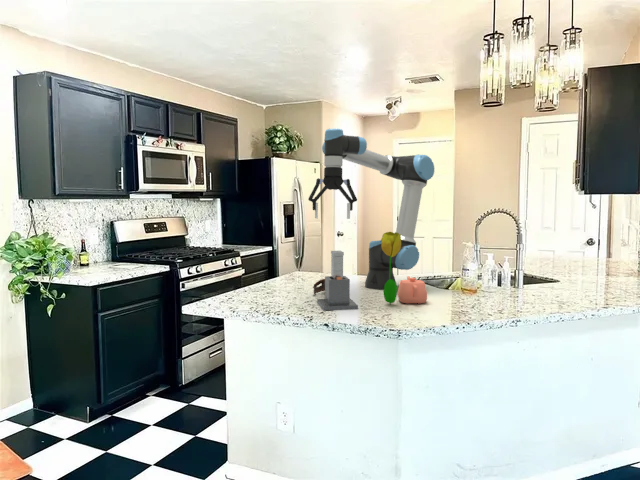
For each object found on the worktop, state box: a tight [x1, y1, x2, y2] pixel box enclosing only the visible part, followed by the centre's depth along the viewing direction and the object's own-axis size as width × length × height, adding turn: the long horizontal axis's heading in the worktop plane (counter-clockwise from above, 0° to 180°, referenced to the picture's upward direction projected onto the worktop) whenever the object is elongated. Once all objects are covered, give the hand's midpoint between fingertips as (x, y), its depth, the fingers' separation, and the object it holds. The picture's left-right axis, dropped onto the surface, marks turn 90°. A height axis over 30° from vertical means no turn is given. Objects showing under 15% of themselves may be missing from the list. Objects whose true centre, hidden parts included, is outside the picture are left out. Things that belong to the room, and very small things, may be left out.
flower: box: [380, 231, 401, 306], centre depth 197 cm, size 9×8×30 cm
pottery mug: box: [312, 278, 325, 295], centre depth 218 cm, size 12×10×8 cm
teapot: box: [397, 275, 428, 305], centre depth 204 cm, size 12×18×10 cm, turn 0°
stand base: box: [316, 275, 359, 311], centre depth 195 cm, size 14×14×12 cm
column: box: [330, 250, 345, 279], centre depth 195 cm, size 4×6×21 cm
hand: (332, 218), depth 200 cm, fingers open, 13 cm apart
